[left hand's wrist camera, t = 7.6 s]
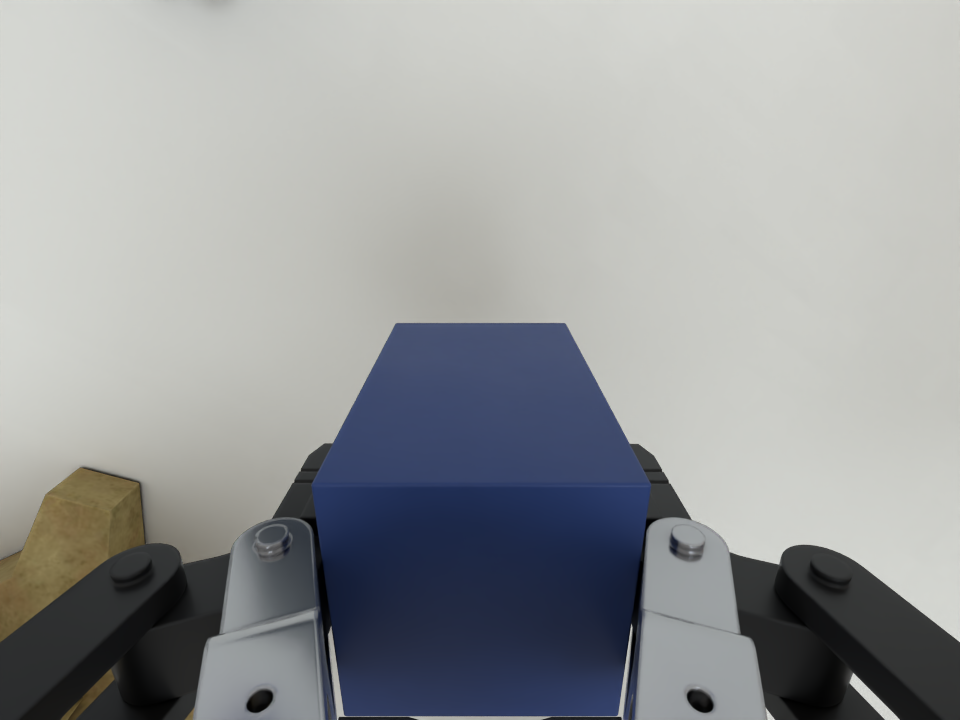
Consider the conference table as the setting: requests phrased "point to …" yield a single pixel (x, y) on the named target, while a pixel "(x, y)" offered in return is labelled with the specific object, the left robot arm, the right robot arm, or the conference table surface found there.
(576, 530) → the block
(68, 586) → the telescope
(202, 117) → the conference table surface
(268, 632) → the left robot arm
